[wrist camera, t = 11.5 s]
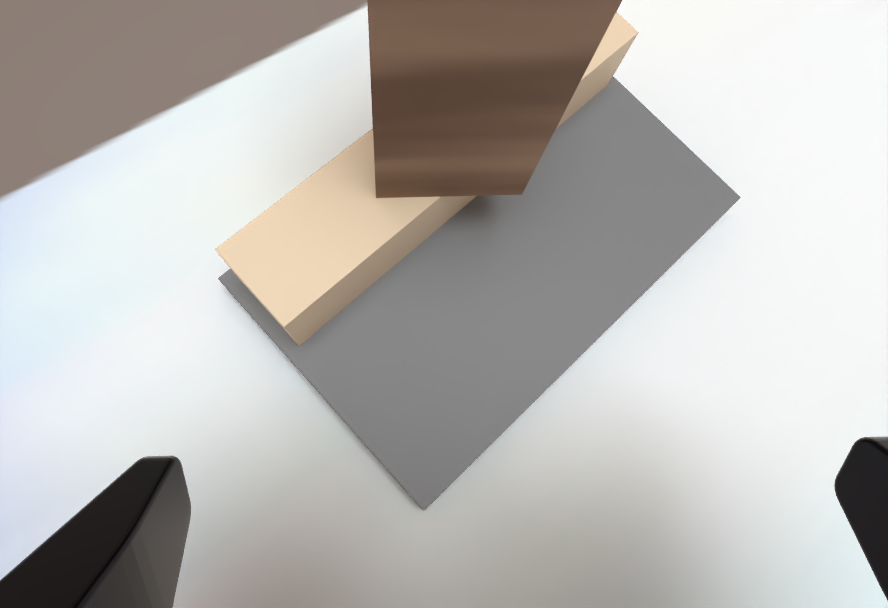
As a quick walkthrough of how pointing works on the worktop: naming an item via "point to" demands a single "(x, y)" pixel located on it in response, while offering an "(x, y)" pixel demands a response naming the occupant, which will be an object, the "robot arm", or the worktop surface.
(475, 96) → the post
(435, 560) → the worktop surface
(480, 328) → the stand
